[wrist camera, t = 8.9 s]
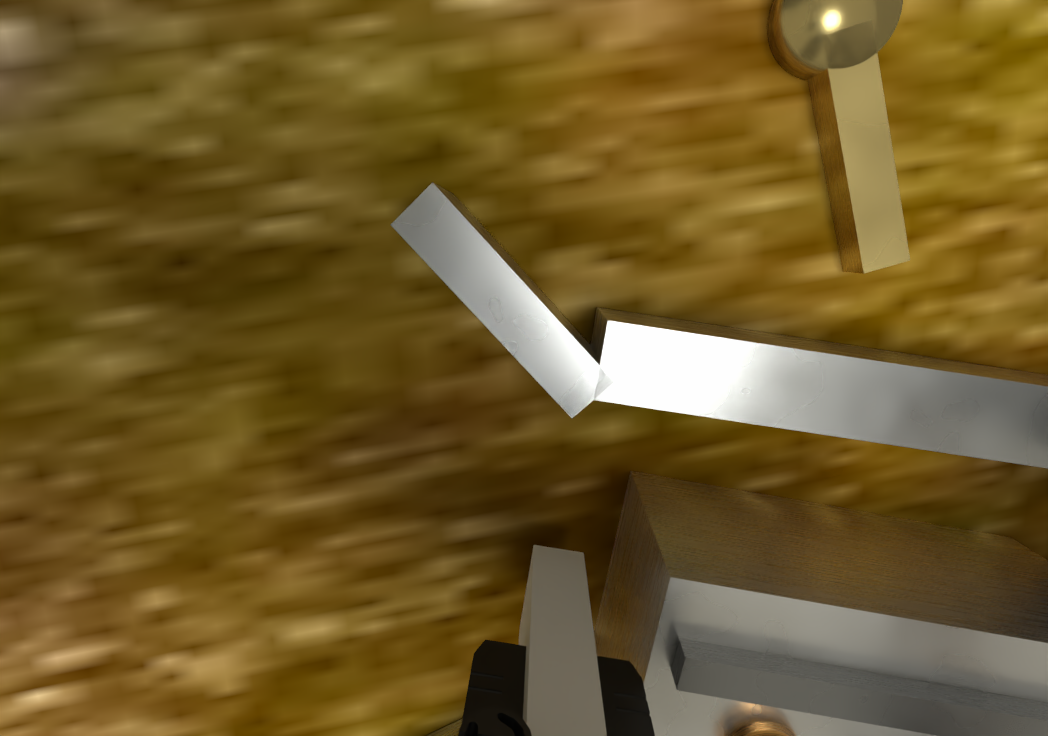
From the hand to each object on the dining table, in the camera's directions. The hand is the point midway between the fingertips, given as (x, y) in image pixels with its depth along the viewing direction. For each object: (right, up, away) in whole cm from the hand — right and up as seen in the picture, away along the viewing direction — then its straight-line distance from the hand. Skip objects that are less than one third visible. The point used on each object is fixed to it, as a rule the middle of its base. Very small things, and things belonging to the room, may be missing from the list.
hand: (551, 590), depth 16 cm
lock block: (+8, -2, +2) cm, 8 cm away
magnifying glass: (+8, +12, -1) cm, 15 cm away
